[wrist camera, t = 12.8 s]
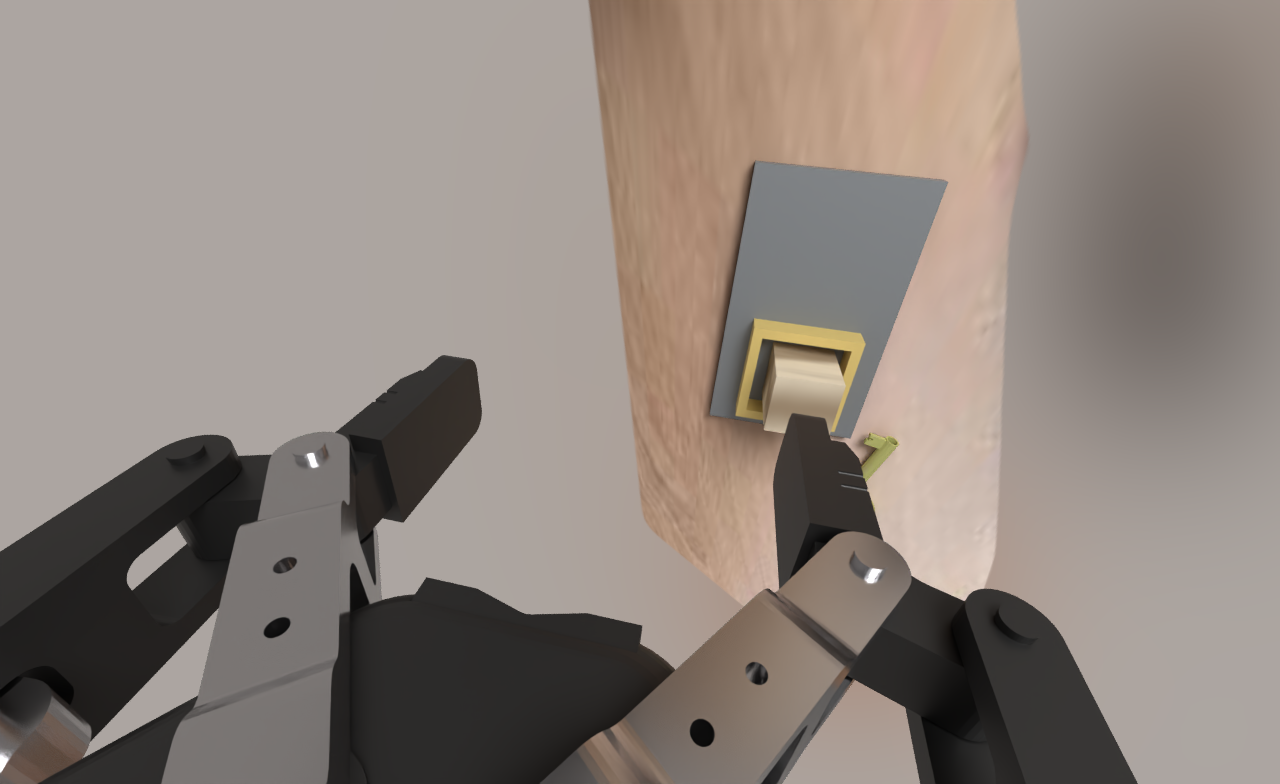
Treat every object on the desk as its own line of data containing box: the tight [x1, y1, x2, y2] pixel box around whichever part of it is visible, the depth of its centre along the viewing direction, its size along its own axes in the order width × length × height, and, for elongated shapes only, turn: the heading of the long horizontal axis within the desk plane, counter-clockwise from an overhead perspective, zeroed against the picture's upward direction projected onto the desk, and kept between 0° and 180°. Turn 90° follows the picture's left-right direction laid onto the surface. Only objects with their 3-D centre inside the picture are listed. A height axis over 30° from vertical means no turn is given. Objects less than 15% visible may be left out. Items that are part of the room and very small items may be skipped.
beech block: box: [762, 342, 846, 435], centre depth 40 cm, size 5×5×6 cm
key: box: [861, 433, 899, 511], centre depth 48 cm, size 7×12×2 cm, turn 2°
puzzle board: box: [710, 161, 948, 438], centre depth 39 cm, size 22×13×3 cm, turn 176°
